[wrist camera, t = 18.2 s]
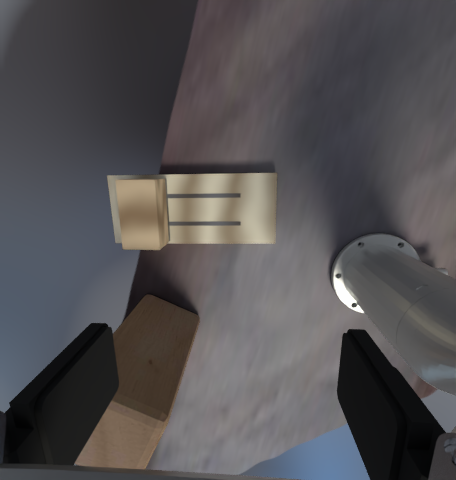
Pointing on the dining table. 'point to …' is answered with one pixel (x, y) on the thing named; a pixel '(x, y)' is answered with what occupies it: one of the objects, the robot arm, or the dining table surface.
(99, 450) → the wooden block
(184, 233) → the birch plank
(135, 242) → the block
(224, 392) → the dining table surface
